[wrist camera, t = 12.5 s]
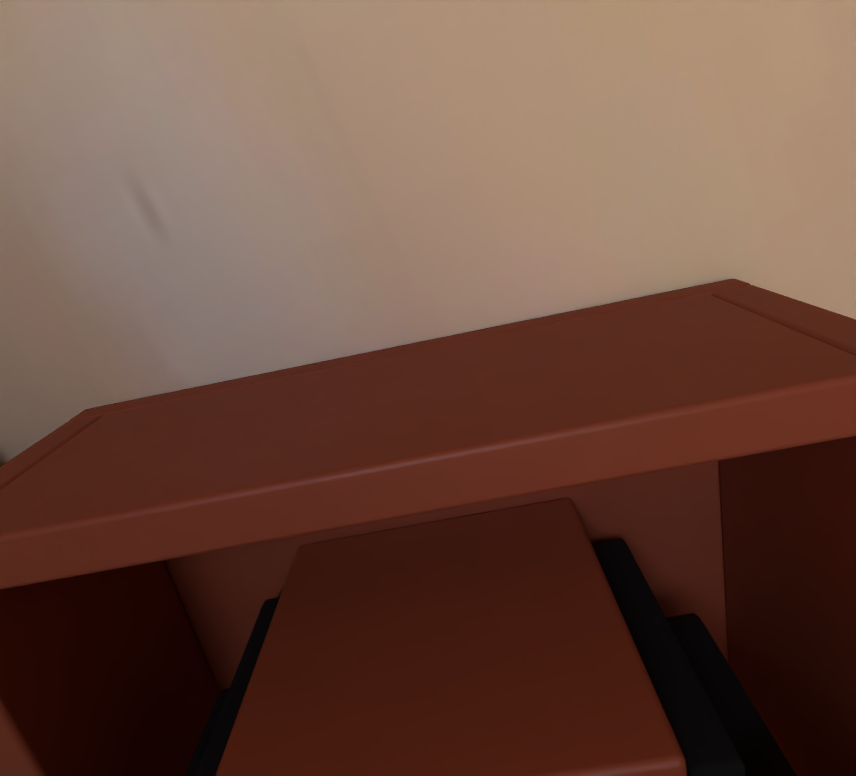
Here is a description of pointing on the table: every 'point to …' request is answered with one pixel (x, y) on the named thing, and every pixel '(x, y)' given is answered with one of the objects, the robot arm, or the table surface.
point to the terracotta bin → (441, 509)
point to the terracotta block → (452, 659)
